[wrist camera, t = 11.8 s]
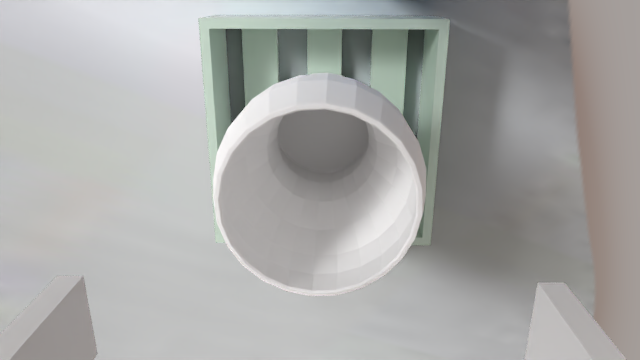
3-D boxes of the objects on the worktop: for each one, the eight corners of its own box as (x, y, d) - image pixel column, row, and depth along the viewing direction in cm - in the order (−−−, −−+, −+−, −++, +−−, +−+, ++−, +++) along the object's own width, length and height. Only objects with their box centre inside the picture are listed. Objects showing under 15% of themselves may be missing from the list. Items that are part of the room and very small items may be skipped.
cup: (419, 158, 37) (471, 256, 23) (292, 214, 39) (269, 337, 25) (359, 24, 34) (378, 44, 20) (224, 92, 36) (155, 154, 22)
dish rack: (216, 15, 35) (198, 18, 31) (434, 15, 35) (450, 18, 30) (229, 213, 41) (215, 242, 36) (419, 216, 40) (430, 245, 36)
